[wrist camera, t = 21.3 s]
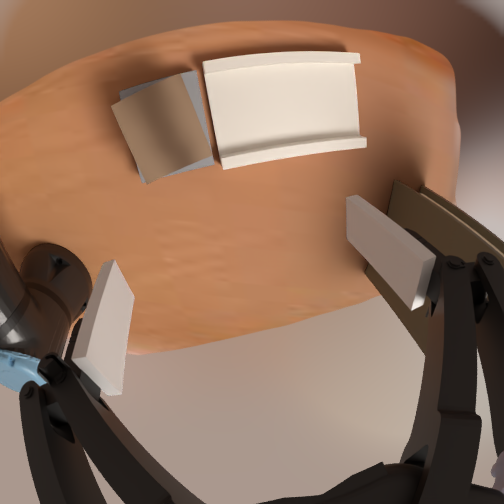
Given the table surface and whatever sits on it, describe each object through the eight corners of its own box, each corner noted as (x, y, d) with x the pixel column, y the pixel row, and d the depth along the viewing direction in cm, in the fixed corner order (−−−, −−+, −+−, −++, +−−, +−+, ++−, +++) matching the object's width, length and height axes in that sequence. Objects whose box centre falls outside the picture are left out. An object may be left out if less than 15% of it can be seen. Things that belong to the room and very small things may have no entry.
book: (392, 272, 59) (463, 362, 36) (361, 274, 57) (434, 377, 34) (425, 186, 48) (528, 263, 25) (394, 179, 45) (510, 266, 22)
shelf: (220, 164, 38) (223, 169, 36) (202, 64, 30) (202, 61, 28) (356, 143, 40) (366, 147, 38) (349, 54, 32) (359, 53, 30)
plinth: (145, 177, 37) (142, 183, 34) (124, 92, 30) (118, 91, 27) (212, 159, 38) (214, 164, 35) (195, 72, 31) (196, 70, 28)
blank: (153, 170, 34) (146, 184, 29) (123, 104, 28) (110, 106, 23) (209, 146, 34) (213, 155, 29) (182, 77, 28) (180, 72, 23)
